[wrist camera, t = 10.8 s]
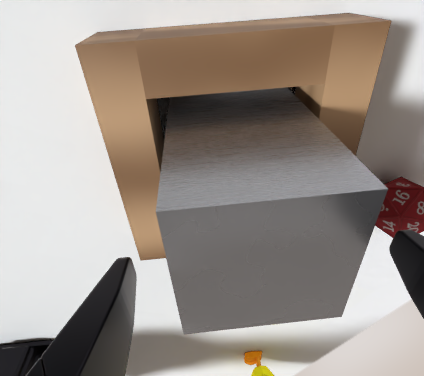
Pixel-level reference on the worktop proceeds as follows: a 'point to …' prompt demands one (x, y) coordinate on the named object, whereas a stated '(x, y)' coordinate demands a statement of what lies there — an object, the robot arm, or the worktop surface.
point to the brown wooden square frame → (221, 86)
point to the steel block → (260, 211)
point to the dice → (402, 207)
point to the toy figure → (260, 373)
